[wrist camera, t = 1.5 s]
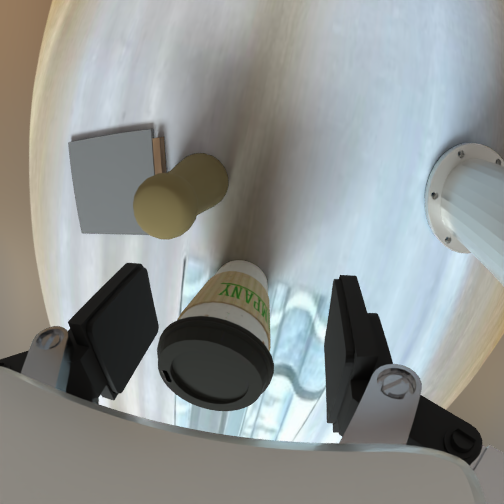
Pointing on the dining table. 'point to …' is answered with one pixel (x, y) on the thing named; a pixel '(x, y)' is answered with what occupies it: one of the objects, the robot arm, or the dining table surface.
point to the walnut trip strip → (159, 155)
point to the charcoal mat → (110, 180)
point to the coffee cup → (221, 341)
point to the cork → (179, 195)
